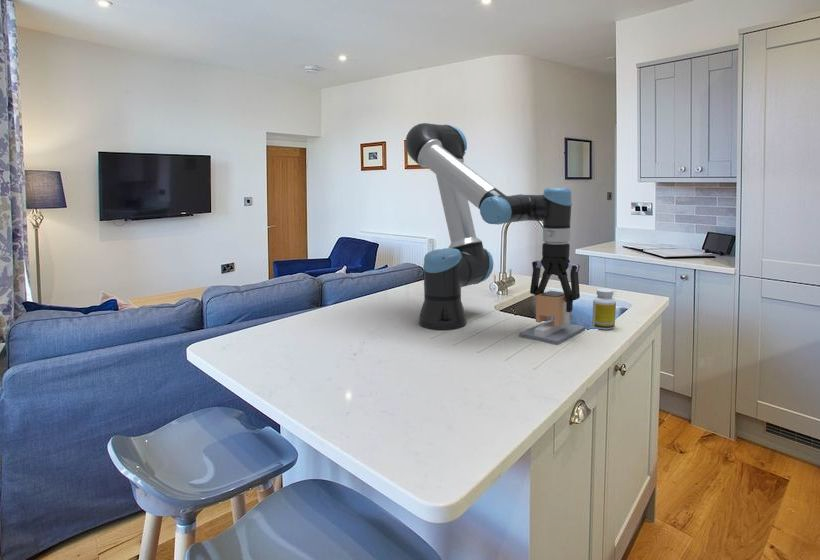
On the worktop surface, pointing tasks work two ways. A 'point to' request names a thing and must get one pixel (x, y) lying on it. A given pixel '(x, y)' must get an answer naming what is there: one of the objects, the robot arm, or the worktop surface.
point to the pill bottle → (604, 310)
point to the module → (550, 307)
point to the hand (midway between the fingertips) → (553, 320)
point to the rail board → (555, 335)
